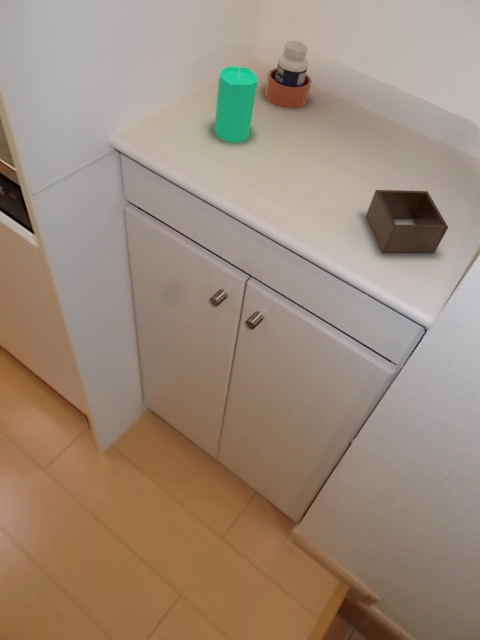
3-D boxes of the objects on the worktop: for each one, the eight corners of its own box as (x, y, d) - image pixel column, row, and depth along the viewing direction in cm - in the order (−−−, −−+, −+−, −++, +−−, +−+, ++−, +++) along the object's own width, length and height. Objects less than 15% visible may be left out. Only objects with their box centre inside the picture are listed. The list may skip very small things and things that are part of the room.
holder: (413, 221, 80) (427, 190, 76) (431, 257, 75) (448, 227, 71) (363, 220, 78) (375, 189, 74) (379, 257, 73) (393, 226, 69)
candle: (223, 123, 91) (231, 52, 82) (254, 135, 90) (265, 64, 81) (207, 138, 88) (213, 66, 78) (239, 150, 86) (249, 78, 77)
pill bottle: (266, 98, 98) (275, 44, 91) (281, 89, 101) (291, 36, 94) (290, 109, 97) (301, 55, 89) (304, 99, 100) (316, 46, 92)
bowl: (301, 91, 103) (306, 68, 99) (309, 113, 98) (315, 89, 94) (261, 89, 101) (265, 66, 98) (268, 110, 96) (272, 87, 93)
